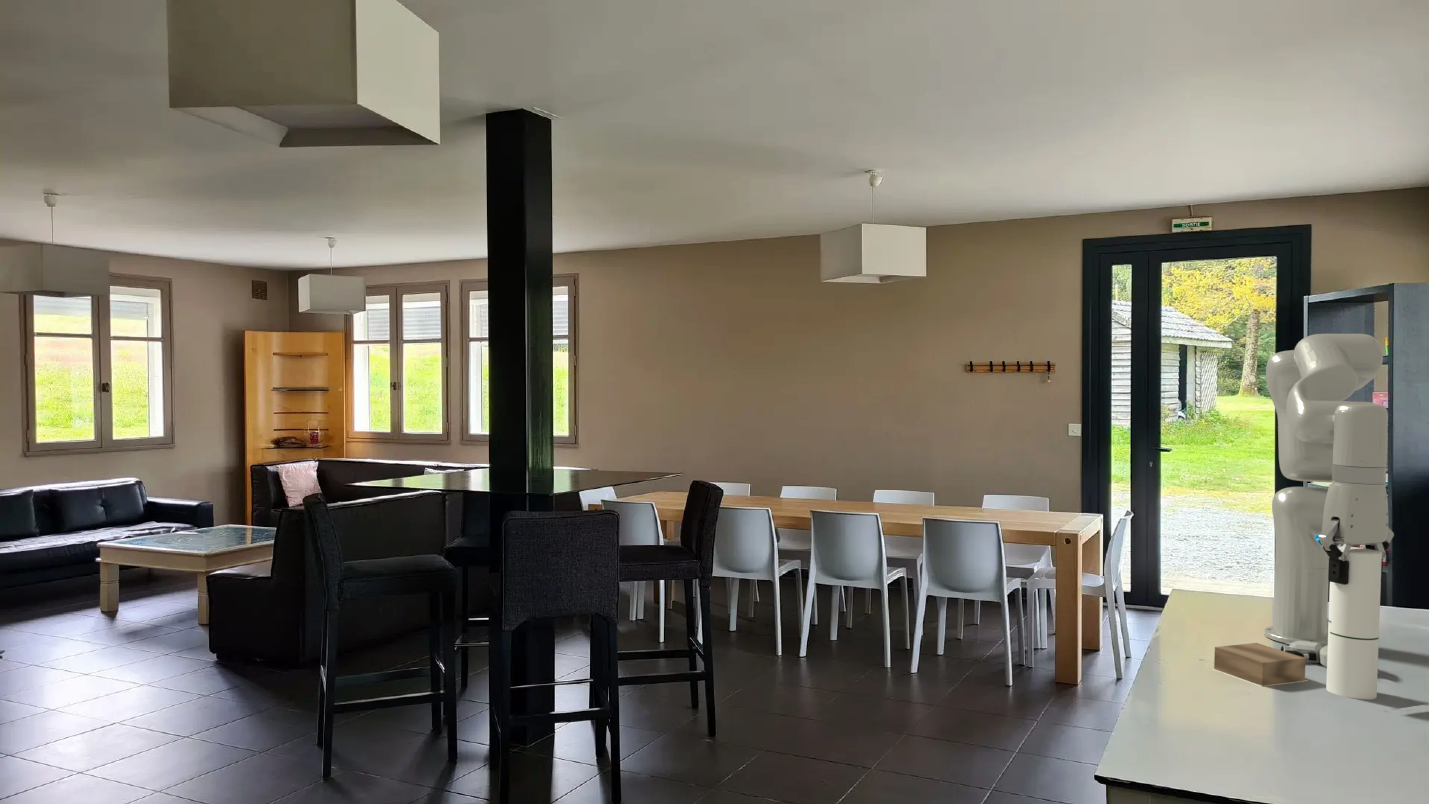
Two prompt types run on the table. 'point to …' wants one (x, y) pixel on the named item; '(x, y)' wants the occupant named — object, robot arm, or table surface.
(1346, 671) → the cylindrical container
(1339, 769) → the table surface
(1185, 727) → the table surface
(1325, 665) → the robot toy
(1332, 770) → the table surface
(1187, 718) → the table surface
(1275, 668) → the plinth
